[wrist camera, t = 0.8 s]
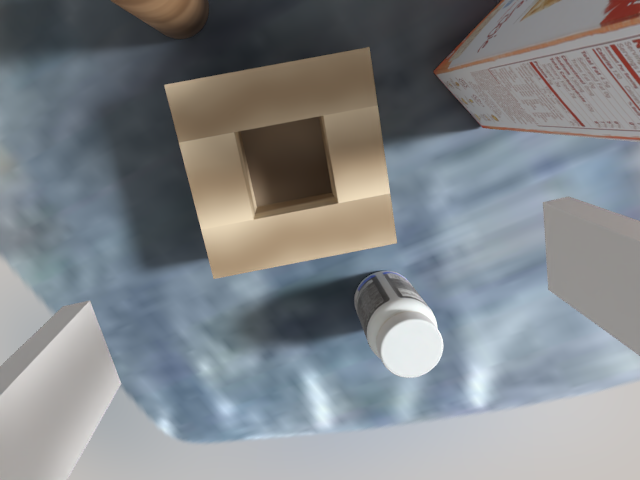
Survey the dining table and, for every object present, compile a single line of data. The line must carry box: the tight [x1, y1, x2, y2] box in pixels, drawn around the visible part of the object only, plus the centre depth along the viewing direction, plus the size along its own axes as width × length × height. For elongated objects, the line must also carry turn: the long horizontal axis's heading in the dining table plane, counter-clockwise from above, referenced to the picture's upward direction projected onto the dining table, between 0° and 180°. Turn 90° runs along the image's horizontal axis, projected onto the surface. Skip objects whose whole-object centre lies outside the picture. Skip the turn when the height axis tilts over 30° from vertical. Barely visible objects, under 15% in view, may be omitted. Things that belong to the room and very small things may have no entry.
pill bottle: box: [354, 271, 443, 378], centre depth 33 cm, size 5×5×8 cm
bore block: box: [164, 47, 397, 279], centre depth 32 cm, size 12×12×5 cm
